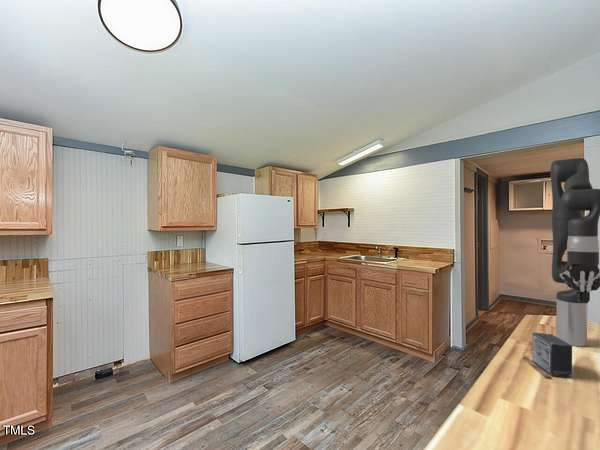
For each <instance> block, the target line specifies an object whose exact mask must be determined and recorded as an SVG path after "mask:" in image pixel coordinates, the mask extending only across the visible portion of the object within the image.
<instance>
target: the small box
mask: <svg viewBox="0 0 600 450" xmlns="http://www.w3.org/2000/svg"><path fill="white" fill-rule="evenodd" d="M531 356H532V359H531V361H532V362H534V363H535V364H536V365H537V366H539V367H540V368H541V369H542V370H543V371H545V372H546V373H547V374H548V375H549V376H551V377H560V378H569V379H570V378H571V379H572V378H573V345H570V344H568V343H566V342H565V341H563V340H561V339H559V338H557V337H556V335H554V334H552V333H551V334H550V333H542V332H540V333H539V332H532V355H531Z"/></svg>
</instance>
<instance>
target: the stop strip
mask: <svg viewBox="0 0 600 450" xmlns="http://www.w3.org/2000/svg"><path fill="white" fill-rule="evenodd" d="M522 359H523V360H524V361H525V362H526V363H527V364H528V365H529V366H531V367H532V369H534V370H536V372H537V373H539V374H540V375H541V376H542V377H544V379H548V380H549V379H550V380H552V376H550V375H549V374H547V373H546V372H545V371H544V370H542V369H541V368H540V367H539V366H537V365H536V364H535V363H534V362H532V359H530V358H529V357H528V356H527V357H526V356H522Z"/></svg>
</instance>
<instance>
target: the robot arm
mask: <svg viewBox="0 0 600 450" xmlns="http://www.w3.org/2000/svg"><path fill="white" fill-rule="evenodd" d="M550 183H551V195H552V198H551V199H552V205H551V206H552V207H551V209H552V213H551V215H552V216H551V229H552V259H551V260H552V261H551V278H552V280H553V281H554V283H558V284H565V285H566V286H567V287H568V288H569V289H567V290H560V291H558V292H556V315H555V336H556V337H557V338H559V339H561V340H563V341H565V342H566V343H568V344H570V345H572V347H573V346H574V347H587V346H588V303H589V302H590V301H591V298H590V297H591V296H590V295H591V294H590V293H591V292H593V291H597V290H598V289H599V288H600V268H599V265H600V241H599V236H598V235H599V231H598V230H599V220H600V188H593V186H592V184H591V182H590V170H589V164H588V161H587V160H586V159H585V158H583V157H582V158H581V157H575V158H568V159H567V158H565V159H559V160H554V161H552V162H551V164H550ZM563 183H564V184H563ZM562 184H563V186H562ZM583 211H586V212H587V211H588V213H587V215H585V216H583V213H582V212H583ZM565 253H567V254H566V259H567V260H563V257H564V255H565Z"/></svg>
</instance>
